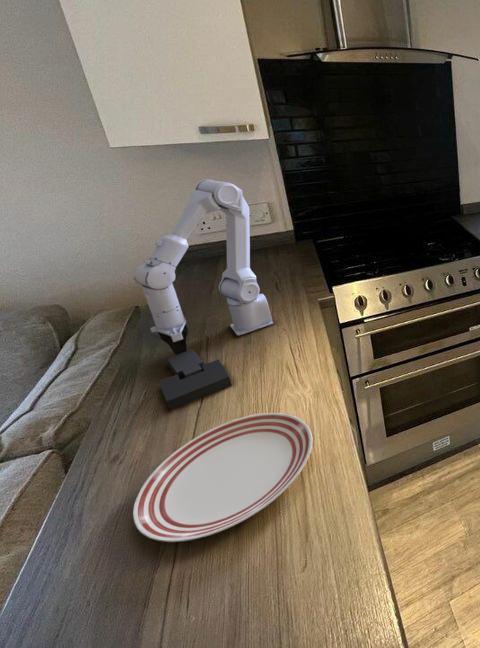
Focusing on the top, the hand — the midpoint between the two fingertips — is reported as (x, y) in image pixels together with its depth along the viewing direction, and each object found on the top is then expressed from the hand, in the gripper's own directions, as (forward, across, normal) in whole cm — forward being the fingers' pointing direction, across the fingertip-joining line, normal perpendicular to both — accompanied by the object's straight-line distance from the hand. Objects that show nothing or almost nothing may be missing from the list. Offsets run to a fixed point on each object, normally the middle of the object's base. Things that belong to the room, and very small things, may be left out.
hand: (181, 353), depth 115 cm
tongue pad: (+2, +8, 0) cm, 8 cm away
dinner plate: (+2, +53, -1) cm, 53 cm away
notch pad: (+2, +17, 0) cm, 17 cm away
